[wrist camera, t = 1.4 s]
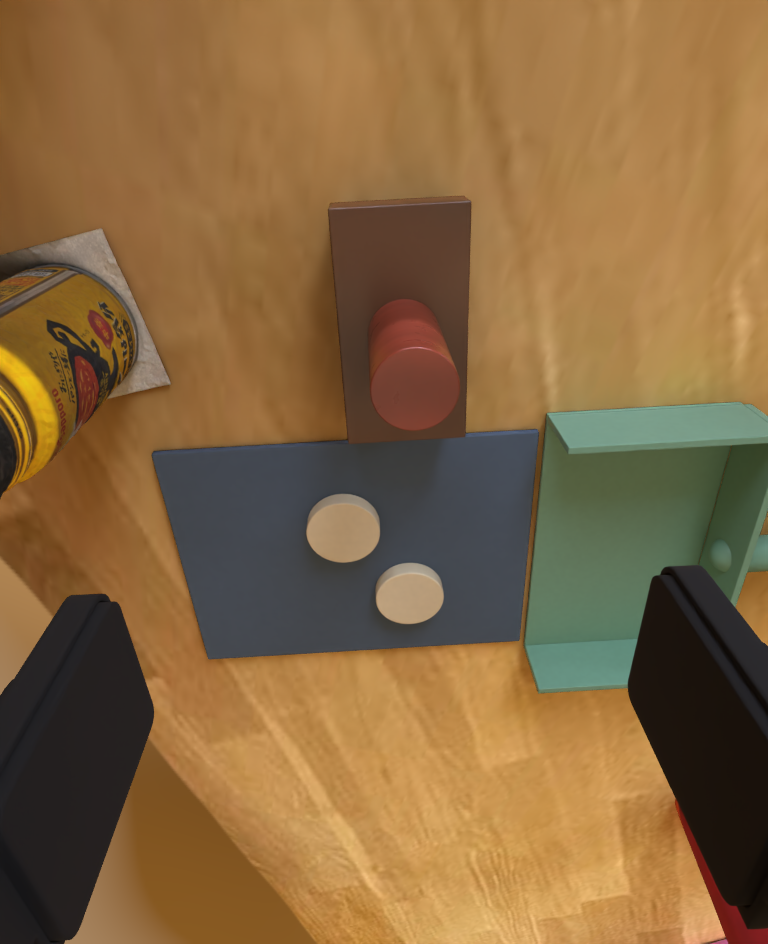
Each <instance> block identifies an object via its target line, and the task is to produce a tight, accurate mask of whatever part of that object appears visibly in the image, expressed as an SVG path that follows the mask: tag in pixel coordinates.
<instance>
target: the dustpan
mask: <svg viewBox="0 0 768 944" xmlns="http://www.w3.org/2000/svg"><path fill="white" fill-rule="evenodd" d="M731 445H732V448H731ZM730 448H731V451H730ZM729 452H730V455H729ZM728 456H729V458H728ZM727 459H728V462H727ZM726 463H727V465H726ZM725 466H726V469H725ZM724 470H725V473H724ZM723 473H724V476H723ZM722 477H723V480H722ZM721 481H722V483H721ZM720 484H721V487H720ZM719 488H720V490H719ZM718 491H719V494H718ZM717 495H718V498H717ZM716 498H717V501H716ZM715 502H716V505H715ZM714 506H715V508H714ZM713 509H714V512H713ZM767 511H768V416H767V415H765V414H764V413H763V412H761V411H760V410H758V409H757V408H756V407H754V406H753V405H752V404H744V405H743V404H742V403H741V402H730V403H713V404H696V405H678V406H661V407H643V408H626V409H608V410H591V411H573V412H556V413H547V415H546V425H545V435H544V445H543V455H542V465H541V475H540V485H539V495H538V505H537V515H536V525H535V535H534V545H533V555H532V565H531V575H530V585H529V595H528V605H527V615H526V625H525V635H524V645H523V646H524V649H525V653H526V656H527V659H528V662H529V665H530V669H531V672H532V675H533V678H534V682H535V685H536V688H537V691H538V693H554V692H570V691H587V690H604V689H620V688H628V678H629V674H630V669H631V665H632V661H633V657H634V652H635V648H636V644H637V639H638V635H639V631H640V626H641V622H642V618H643V613H644V609H645V605H646V601H647V596H648V592H649V588H650V583H651V580H652V578H653V577H654V576H656V575H660V574H661V571H662V569H663V568H664V567H668V566H687V565H698V563H699V566H702V567H703V568H704V569H705V570H706V571H707V572H708V573H709V575H710V576H711V577H712V579H713V580H714V581H715V582H716V584H717V585H718V586H719V588H720V589H721V590H722V591H723V593H724V594H725V595H726V597H727V598H728V599H729V600H730V602H731V603H732V604H733V606H734V607H736V604H737V601H738V598H739V595H740V592H741V589H742V586H743V583H744V580H745V577H746V574H747V572H761V571H768V535H760V532H761V529H762V526H763V523H764V520H765V517H766V514H767ZM712 513H713V515H712ZM711 516H712V519H711ZM710 520H711V523H710ZM709 523H710V526H709ZM708 527H709V530H708ZM707 531H708V533H707ZM706 534H707V537H706ZM705 538H706V540H705ZM704 541H705V544H704ZM703 545H704V547H703ZM702 548H703V551H702ZM701 552H702V555H701ZM700 556H701V558H700ZM699 559H700V562H699Z"/></svg>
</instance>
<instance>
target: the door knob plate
mask: <svg viewBox="0 0 768 944" xmlns="http://www.w3.org/2000/svg"><path fill="white" fill-rule="evenodd" d="M328 216H329V228H330V239H331V251H332V262H333V274H334V285H335V297H336V308H337V320H338V331H339V343H340V354H341V366H342V378H343V389H344V401H345V412H346V424H347V435H348V443H349V444H358V443H375V442H392V441H410V440H427V439H445V438H462V437H465V433H466V393H467V354H468V314H469V274H470V234H471V201H470V200H469V199H467V198H466V197H465V196H448V197H430V198H411V199H393V200H375V201H357V202H338V203H330V206H329V208H328Z"/></svg>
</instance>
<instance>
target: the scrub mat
mask: <svg viewBox="0 0 768 944" xmlns="http://www.w3.org/2000/svg"><path fill="white" fill-rule="evenodd" d="M538 438H539V432H538V430H537V429H534V430H516V431H499V432H481V433H465V437H462V438H445V439H427V440H410V441H392V442H375V443H358V444H349V443H348V440H342V441H325V442H307V443H290V444H273V445H255V446H238V447H220V448H203V449H186V450H168V451H154V452H153V453H152V458H153V462H154V466H155V469H156V473H157V476H158V480H159V484H160V487H161V491H162V494H163V498H164V502H165V505H166V509H167V512H168V516H169V520H170V523H171V527H172V530H173V534H174V538H175V541H176V545H177V548H178V552H179V556H180V559H181V563H182V566H183V570H184V574H185V577H186V581H187V584H188V588H189V592H190V595H191V599H192V603H193V606H194V610H195V613H196V617H197V621H198V624H199V628H200V631H201V635H202V639H203V642H204V646H205V649H206V653H207V657H208V659H223V658H240V657H257V656H274V655H290V654H307V653H324V652H340V651H357V650H374V649H391V648H407V647H424V646H441V645H457V644H474V643H491V642H508V641H519V639H520V628H521V617H522V607H523V596H524V586H525V575H526V565H527V554H528V543H529V533H530V522H531V512H532V501H533V490H534V480H535V469H536V459H537V448H538ZM335 494H351V495H355V496H358V497H361V498H363V499H365V500H366V501H368V502H369V503H370V504H371V505H372V506H373V507H374V509H375V510H376V512H377V514H378V516H379V521H380V538H379V541H378V543H377V545H376V547H375V548H374V550H373V551H372V552H371V553H370V554H368V555H367V556H365V557H364V558H362V559H360V560H357V561H353V562H334V561H330V560H327V559H325V558H323V557H321V556H320V555H318V554H317V553H316V552H315V551H314V550H313V549H312V547H311V546H310V544H309V542H308V540H307V535H306V530H307V522H308V516H309V514H310V511H311V510H312V508H313V507H314V506H315V505H316V504H317V503H318V502H319V501H321V500H322V499H324V498H326V497H328V496H331V495H335ZM402 563H418V564H422V565H425V566H427V567H429V568H431V569H432V570H434V571H435V572H436V573H437V574H438V576H439V577H440V579H441V582H442V587H443V593H444V600H443V604H442V606H441V608H440V609H439V611H438V612H437V613H436V614H435V615H434V616H432V617H431V618H429V619H428V620H425V621H423V622H420V623H415V624H401V623H397V622H394V621H391V620H389V619H387V618H386V617H385V616H384V615H383V614H382V613H381V612H380V611H379V609H378V607H377V604H376V592H375V589H376V584H377V581H378V579H379V578H380V576H381V575H382V574H383V573H384V572H385V571H386V570H388V569H389V568H391V567H393V566H395V565H398V564H402Z"/></svg>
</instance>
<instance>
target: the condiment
mask: <svg viewBox="0 0 768 944" xmlns="http://www.w3.org/2000/svg"><path fill="white" fill-rule="evenodd" d="M170 384H171V383H170V380H169V378H168V375H167V374H166V371H165V369H164V367H163V364H162V362H161V359H160V357H159V355H158V353H157V351H156V348H155V345H154V343H153V341H152V338H151V336H150V334H149V332H148V329H147V327H146V325H145V322H144V320H143V318H142V315H141V313H140V311H139V309H138V307H137V305H136V303H135V300H134V298H133V296H132V294H131V291H130V289H129V287H128V285H127V282H126V280H125V278H124V276H123V274H122V272H121V270H120V268H119V267H118V265H117V262H116V260H115V258H114V255H113V253H112V251H111V249H110V247H109V244H108V242H107V240H106V237H105V235H104V233H103V230H102V228H101V229H97V230H94V231H90V232H86V233H82V234H78V235H75V236H71V237H67V238H63V239H59V240H56V241H53V242H48V243H44V244H41V245H37V246H33V247H30V248H26V249H22V250H18V251H15V252H11V253H7V254H3V255H0V498H1V496H2V494H3V493H5V492H6V491H8V490H10V489H11V488H12V487H14V486H15V484H16V483H21V482H23V481H25V480H27V479H29V478H30V477H32V476H34V475H35V474H36V473H38V472H39V471H40V470H41V469H42V468H43V467H45V466H46V465H47V464H48V463H49V462H50V461H52V460H53V458H54V457H55V456H56V455H57V453H58V452H60V451H61V450H62V449H63V447H64V446H65V445H66V444H67V443H68V441H69V440H70V439H71V438H72V437H73V436H74V435H75V434H76V432H77V430H79V429H80V428H81V426H82V425H83V424H85V423H86V422H87V421H88V420H89V419H90V418H91V416H92V415H93V414H94V412H95V411H96V410H98V409H99V407H100V406H102V404H103V402H105V401H106V400H107V399H109V398H113V397H117V396H121V395H125V394H129V393H133V392H137V391H143V390H147V389H150V388H154V387H159V386H163V385H170Z"/></svg>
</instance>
